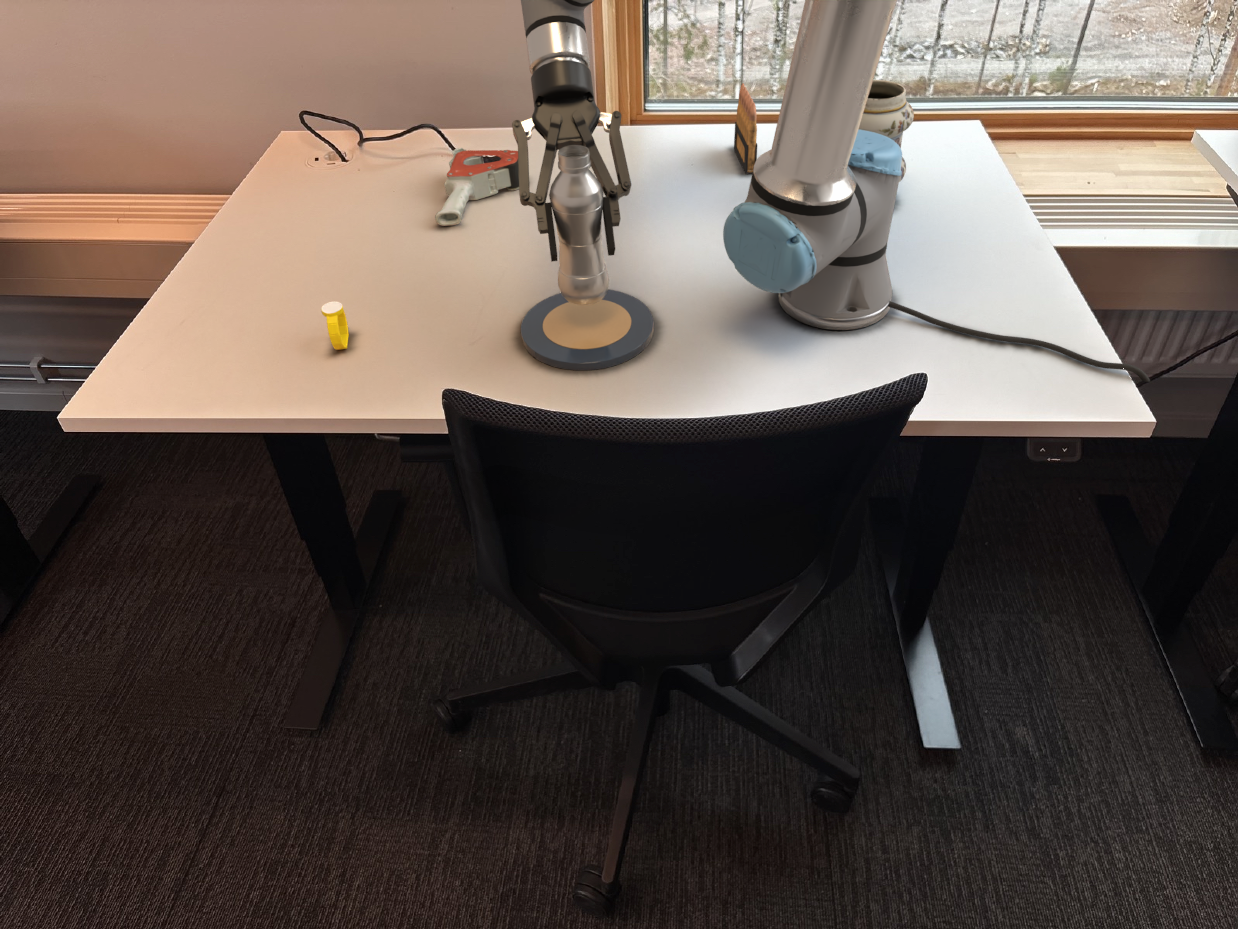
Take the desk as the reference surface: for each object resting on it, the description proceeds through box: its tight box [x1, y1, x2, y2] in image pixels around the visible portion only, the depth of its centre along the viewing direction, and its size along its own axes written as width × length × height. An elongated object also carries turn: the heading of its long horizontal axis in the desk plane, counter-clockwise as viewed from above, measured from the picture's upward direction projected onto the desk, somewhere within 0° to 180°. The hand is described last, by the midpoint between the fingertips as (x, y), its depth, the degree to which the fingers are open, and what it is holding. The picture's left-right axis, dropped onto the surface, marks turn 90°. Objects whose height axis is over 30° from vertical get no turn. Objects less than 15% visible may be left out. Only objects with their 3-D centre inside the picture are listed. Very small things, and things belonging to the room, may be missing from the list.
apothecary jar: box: [859, 79, 915, 183], centre depth 140 cm, size 12×12×18 cm
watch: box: [320, 301, 350, 351], centre depth 120 cm, size 6×3×6 cm, turn 7°
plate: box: [520, 288, 655, 371], centre depth 121 cm, size 18×18×1 cm
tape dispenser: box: [434, 147, 519, 227], centre depth 152 cm, size 18×5×20 cm
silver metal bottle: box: [548, 145, 610, 305], centre depth 112 cm, size 6×7×20 cm
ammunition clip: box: [733, 82, 758, 175], centre depth 155 cm, size 11×2×12 cm, turn 6°
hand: (583, 254), depth 110 cm, fingers closed on silver metal bottle, 6 cm apart
